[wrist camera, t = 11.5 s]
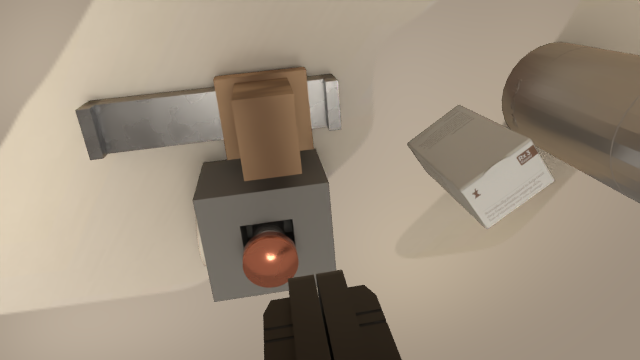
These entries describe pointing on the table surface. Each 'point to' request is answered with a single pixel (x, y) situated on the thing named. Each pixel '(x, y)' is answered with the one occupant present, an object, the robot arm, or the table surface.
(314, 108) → the rail
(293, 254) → the plunger
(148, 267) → the table surface
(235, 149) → the stepped wooden block
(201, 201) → the cabinet
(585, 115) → the robot arm
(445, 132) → the skincare box
